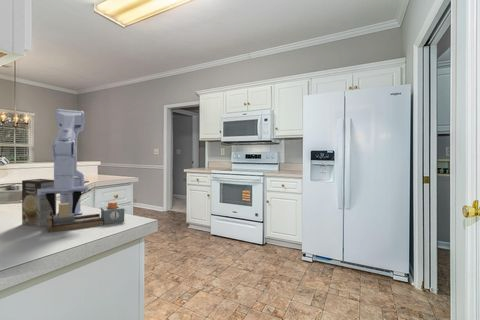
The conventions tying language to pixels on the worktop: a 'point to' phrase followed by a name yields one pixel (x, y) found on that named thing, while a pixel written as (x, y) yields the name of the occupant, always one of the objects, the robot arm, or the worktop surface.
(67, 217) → the carriage
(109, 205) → the button
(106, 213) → the end cabinet
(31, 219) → the coffee box
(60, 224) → the track
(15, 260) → the worktop surface
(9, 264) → the worktop surface
